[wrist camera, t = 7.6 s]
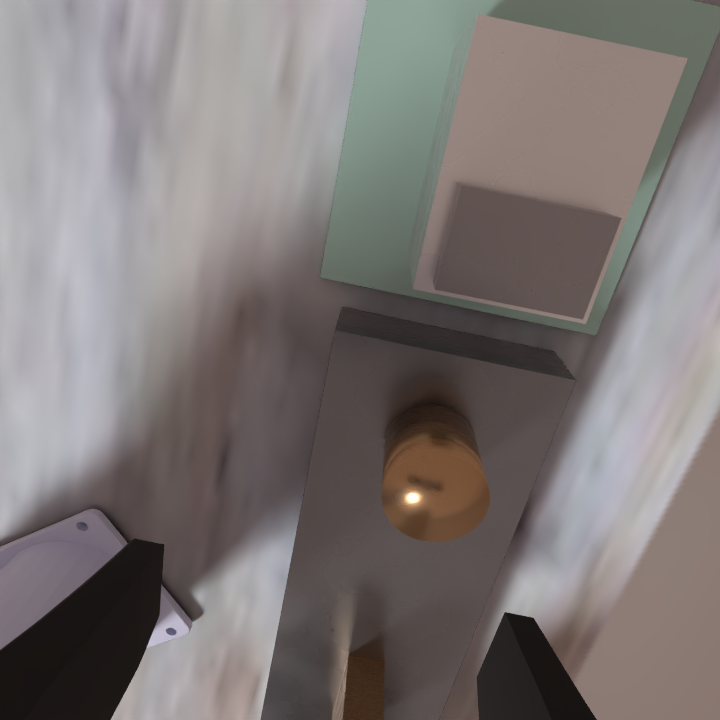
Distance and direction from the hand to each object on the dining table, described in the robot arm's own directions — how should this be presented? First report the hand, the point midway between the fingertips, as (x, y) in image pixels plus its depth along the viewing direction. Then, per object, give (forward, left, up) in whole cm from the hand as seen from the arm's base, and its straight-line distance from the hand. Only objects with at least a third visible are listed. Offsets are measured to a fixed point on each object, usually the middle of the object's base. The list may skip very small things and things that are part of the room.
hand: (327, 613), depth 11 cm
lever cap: (+8, +5, -10) cm, 14 cm away
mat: (+8, +6, -10) cm, 14 cm away
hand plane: (-2, -7, -10) cm, 13 cm away
